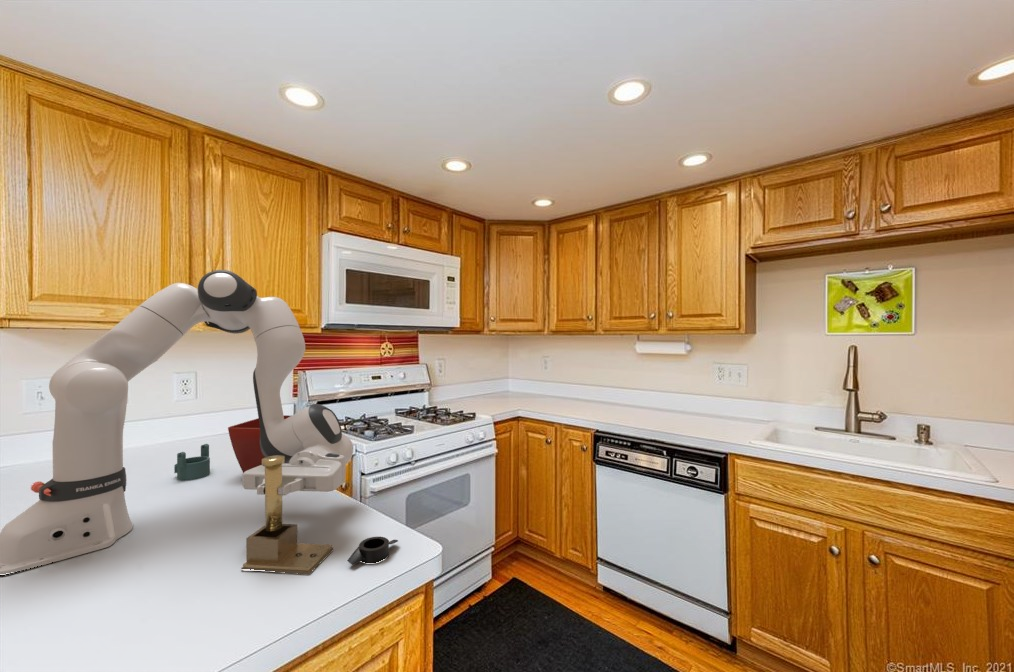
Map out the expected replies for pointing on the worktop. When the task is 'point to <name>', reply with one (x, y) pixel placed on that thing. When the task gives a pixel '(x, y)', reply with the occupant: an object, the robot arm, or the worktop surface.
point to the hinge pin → (273, 492)
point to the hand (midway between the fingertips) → (270, 491)
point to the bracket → (193, 465)
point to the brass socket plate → (282, 551)
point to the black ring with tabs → (371, 550)
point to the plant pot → (247, 443)
